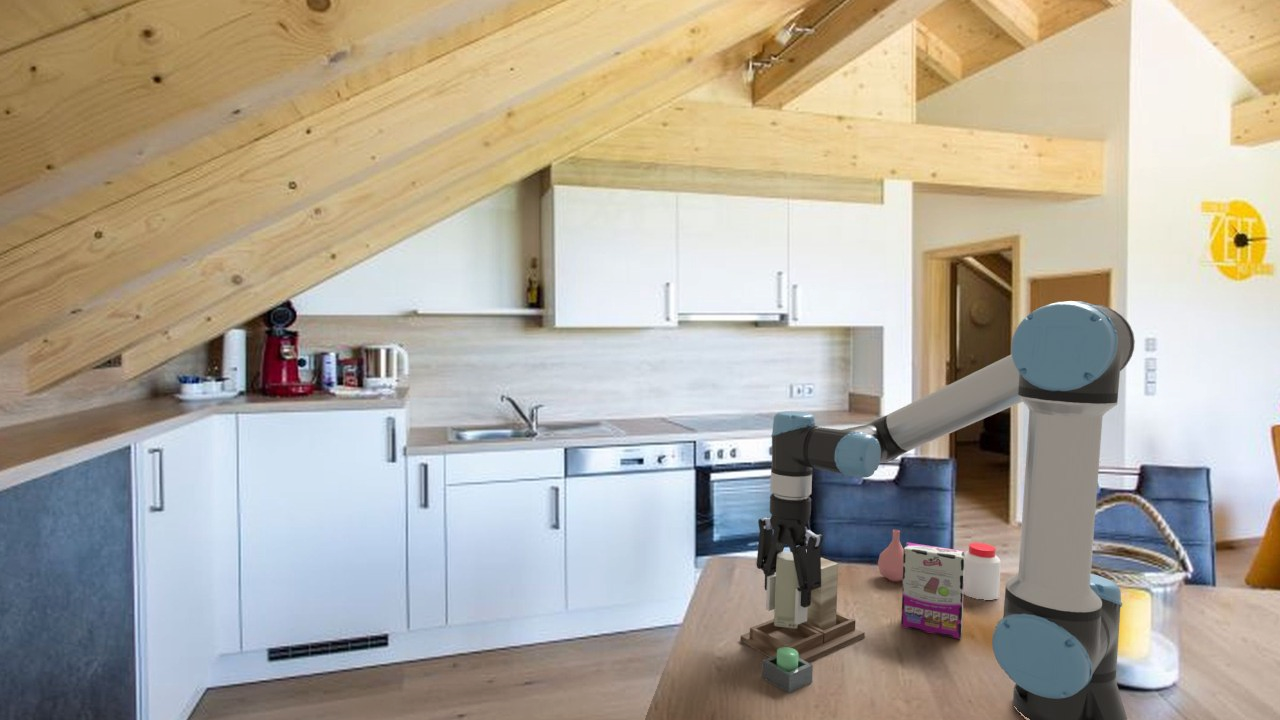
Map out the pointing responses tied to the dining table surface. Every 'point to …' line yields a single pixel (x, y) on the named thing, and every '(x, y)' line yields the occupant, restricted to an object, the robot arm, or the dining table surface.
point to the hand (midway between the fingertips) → (786, 614)
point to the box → (785, 590)
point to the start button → (787, 658)
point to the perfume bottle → (892, 559)
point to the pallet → (810, 625)
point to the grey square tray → (787, 674)
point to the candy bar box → (933, 589)
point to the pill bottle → (981, 572)
